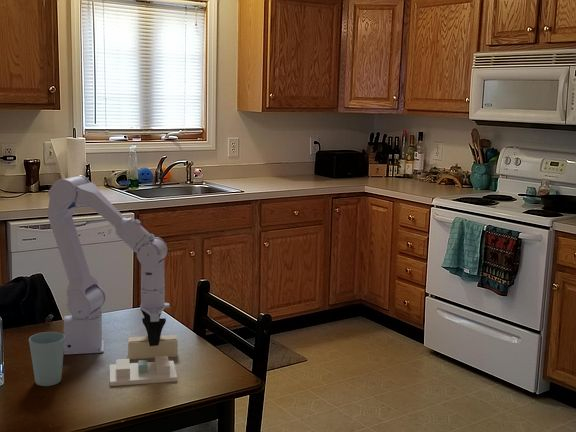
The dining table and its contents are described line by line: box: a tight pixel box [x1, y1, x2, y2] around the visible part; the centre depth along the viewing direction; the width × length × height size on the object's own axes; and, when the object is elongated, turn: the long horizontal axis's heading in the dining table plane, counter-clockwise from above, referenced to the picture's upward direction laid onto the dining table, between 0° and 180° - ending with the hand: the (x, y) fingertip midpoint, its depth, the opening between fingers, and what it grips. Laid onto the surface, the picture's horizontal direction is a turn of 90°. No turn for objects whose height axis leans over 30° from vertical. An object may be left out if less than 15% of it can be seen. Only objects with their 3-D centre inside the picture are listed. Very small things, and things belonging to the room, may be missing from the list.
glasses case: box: [127, 334, 179, 360], centre depth 173 cm, size 12×4×5 cm, turn 105°
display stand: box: [109, 356, 178, 387], centre depth 161 cm, size 15×10×3 cm, turn 104°
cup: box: [28, 331, 65, 387], centre depth 155 cm, size 8×8×10 cm
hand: (153, 339), depth 172 cm, fingers open, 7 cm apart
